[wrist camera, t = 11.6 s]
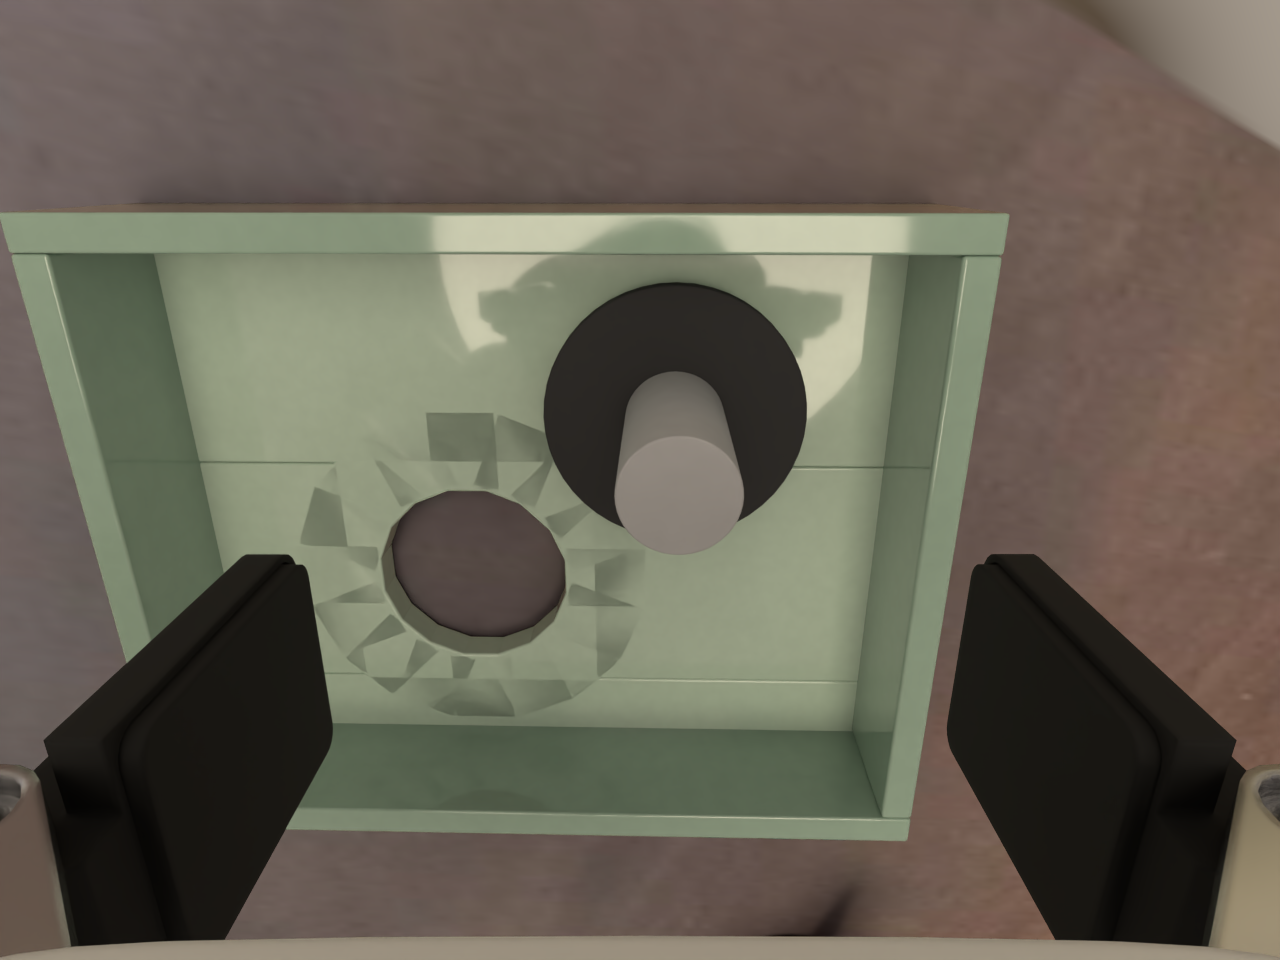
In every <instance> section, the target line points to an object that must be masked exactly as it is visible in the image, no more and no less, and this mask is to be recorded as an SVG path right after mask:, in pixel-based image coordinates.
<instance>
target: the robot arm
mask: <svg viewBox="0 0 1280 960" xmlns="http://www.w3.org/2000/svg"><path fill="white" fill-rule="evenodd" d="M332 736H333V722H332V716H331V709H330V703H329V697H328V691H327V685H326V679H325V673H324V667H323V660H322V654H321V648H320V642H319V636H318V630H317V624H316V618H315V611H314V605H313V599H312V593H311V587H310V581H309V575H308V571H307V569H306V567H305V566H304V565H302V564H296V563H295V561H294V560H293V558H292V557H291V556H290V555H289V554H246V555H244V556H242V557H241V558H240V559H239V560H238V561H237V562H236V563H234V564H233V565H232V566H231V567H230V568H229V569H228V570H227V571H226V572H225V573H224V574H223V575H221V576H220V577H219V578H218V579H217V580H216V581H215V582H214V583H213V584H212V585H211V586H210V587H209V588H207V589H206V590H205V591H204V592H203V593H202V594H201V595H200V596H199V597H198V598H197V599H196V600H194V601H193V602H192V603H191V604H190V605H189V606H188V607H187V608H186V609H185V610H184V611H183V612H182V613H180V614H179V615H178V616H177V617H176V618H175V619H174V620H173V621H172V622H171V623H170V624H169V625H168V626H166V627H165V628H164V629H163V630H162V631H161V632H160V633H159V634H158V635H157V636H156V637H155V638H153V639H152V640H151V641H150V642H149V643H148V644H147V645H146V646H145V647H144V648H143V649H142V650H141V651H139V652H138V653H137V654H136V655H135V656H134V657H133V658H132V659H131V660H130V661H129V662H128V663H126V664H125V665H124V666H123V667H122V668H121V669H120V670H119V671H118V672H117V673H116V674H115V675H114V676H112V677H111V678H110V679H109V680H108V681H107V682H106V683H105V684H104V685H103V686H102V687H101V688H99V689H98V690H97V691H96V692H95V693H94V694H93V695H92V696H91V697H90V698H89V699H88V700H87V701H85V702H84V703H83V704H82V705H81V706H80V707H79V708H78V709H77V710H76V711H75V712H74V713H73V714H71V715H70V716H69V717H68V718H67V719H66V720H65V721H64V722H63V723H62V724H61V725H60V726H58V727H57V728H56V729H55V730H54V731H53V732H52V733H51V734H50V735H49V736H48V737H47V738H46V739H44V743H45V747H46V750H47V753H48V757H47V758H46V759H45V760H44V761H43V762H42V763H41V764H40V765H39V766H38V767H37V768H36V769H35V770H34V771H33V770H30V769H28V768H25V767H23V766H21V765H7V764H0V960H1280V764H1273V765H1259V766H1257V767H1255V768H1252V769H1250V770H1247V771H1246V770H1245V769H1244V768H1243V767H1242V766H1241V765H1240V764H1239V763H1238V762H1237V761H1236V760H1235V759H1234V758H1233V757H1232V753H1233V750H1234V747H1235V743H1236V739H1234V738H1233V737H1232V736H1231V735H1230V734H1229V733H1228V732H1227V731H1226V730H1225V729H1224V728H1223V727H1222V726H1220V725H1219V724H1218V723H1217V722H1216V721H1215V720H1214V719H1213V718H1212V717H1211V716H1210V715H1209V714H1207V713H1206V712H1205V711H1204V710H1203V709H1202V708H1201V707H1200V706H1199V705H1198V704H1197V703H1196V702H1195V701H1193V700H1192V699H1191V698H1190V697H1189V696H1188V695H1187V694H1186V693H1185V692H1184V691H1183V690H1182V689H1181V688H1179V687H1178V686H1177V685H1176V684H1175V683H1174V682H1173V681H1172V680H1171V679H1170V678H1169V677H1168V676H1166V675H1165V674H1164V673H1163V672H1162V671H1161V670H1160V669H1159V668H1158V667H1157V666H1156V665H1155V664H1154V663H1152V662H1151V661H1150V660H1149V659H1148V658H1147V657H1146V656H1145V655H1144V654H1143V653H1142V652H1141V651H1139V650H1138V649H1137V648H1136V647H1135V646H1134V645H1133V644H1132V643H1131V642H1130V641H1129V640H1128V639H1127V638H1125V637H1124V636H1123V635H1122V634H1121V633H1120V632H1119V631H1118V630H1117V629H1116V628H1115V627H1114V626H1112V625H1111V624H1110V623H1109V622H1108V621H1107V620H1106V619H1105V618H1104V617H1103V616H1102V615H1101V614H1100V613H1098V612H1097V611H1096V610H1095V609H1094V608H1093V607H1092V606H1091V605H1090V604H1089V603H1088V602H1087V601H1086V600H1084V599H1083V598H1082V597H1081V596H1080V595H1079V594H1078V593H1077V592H1076V591H1075V590H1074V589H1073V588H1071V587H1070V586H1069V585H1068V584H1067V583H1066V582H1065V581H1064V580H1063V579H1062V578H1061V577H1060V576H1059V575H1057V574H1056V573H1055V572H1054V571H1053V570H1052V569H1051V568H1050V567H1049V566H1048V565H1047V564H1046V563H1044V562H1043V561H1042V560H1041V559H1040V558H1039V557H1038V556H1036V555H1034V554H991V555H990V556H989V557H988V558H987V560H986V561H985V563H984V564H978V565H976V566H975V567H974V569H973V571H972V575H971V581H970V587H969V593H968V599H967V605H966V611H965V618H964V624H963V630H962V636H961V642H960V648H959V654H958V660H957V667H956V673H955V679H954V685H953V691H952V697H951V703H950V709H949V716H948V722H947V736H948V742H949V746H950V749H951V751H952V753H953V755H954V757H955V759H956V761H957V762H958V764H959V766H960V768H961V770H962V771H963V773H964V775H965V777H966V779H967V781H968V782H969V784H970V786H971V788H972V790H973V791H974V793H975V795H976V797H977V799H978V800H979V802H980V804H981V806H982V808H983V809H984V811H985V813H986V815H987V817H988V819H989V820H990V822H991V824H992V826H993V828H994V829H995V831H996V833H997V835H998V837H999V838H1000V840H1001V842H1002V844H1003V846H1004V847H1005V849H1006V851H1007V853H1008V855H1009V857H1010V858H1011V860H1012V862H1013V864H1014V866H1015V867H1016V869H1017V871H1018V873H1019V875H1020V876H1021V878H1022V880H1023V882H1024V884H1025V885H1026V887H1027V889H1028V891H1029V893H1030V895H1031V896H1032V898H1033V900H1034V902H1035V904H1036V905H1037V907H1038V909H1039V911H1040V913H1041V914H1042V916H1043V918H1044V920H1045V922H1046V923H1047V925H1048V927H1049V929H1050V931H1051V933H1052V934H1053V936H1054V938H1055V940H1028V939H977V938H927V937H772V936H508V937H353V938H303V939H252V940H225V938H226V936H227V934H228V933H229V931H230V929H231V927H232V925H233V923H234V922H235V920H236V918H237V916H238V914H239V913H240V911H241V909H242V907H243V905H244V904H245V902H246V900H247V898H248V896H249V895H250V893H251V891H252V889H253V887H254V885H255V884H256V882H257V880H258V878H259V876H260V875H261V873H262V871H263V869H264V867H265V866H266V864H267V862H268V860H269V858H270V857H271V855H272V853H273V851H274V849H275V847H276V846H277V844H278V842H279V840H280V838H281V837H282V835H283V833H284V831H285V829H286V828H287V826H288V824H289V822H290V820H291V819H292V817H293V815H294V813H295V811H296V809H297V808H298V806H299V804H300V802H301V800H302V799H303V797H304V795H305V793H306V791H307V790H308V788H309V786H310V784H311V782H312V781H313V779H314V777H315V775H316V773H317V771H318V770H319V768H320V766H321V764H322V762H323V761H324V759H325V757H326V755H327V753H328V751H329V749H330V746H331V742H332Z"/></svg>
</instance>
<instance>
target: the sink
mask: <svg viewBox="0 0 1280 960" xmlns="http://www.w3.org/2000/svg"><path fill="white" fill-rule="evenodd" d="M686 204H756V203H686ZM0 222H1V225H2V229H3V232H4V236H5V239H6V243H7V246H8V250H9V252H11V253H15V254H13V255H12V257H11V258H12V262H13V265H14V269H15V272H16V276H17V280H18V283H19V287H20V290H21V294H22V297H23V301H24V304H25V308H26V311H27V315H28V318H29V322H30V325H31V329H32V332H33V336H34V339H35V343H36V346H37V350H38V353H39V357H40V360H41V364H42V368H43V371H44V375H45V378H46V382H47V385H48V389H49V392H50V396H51V399H52V403H53V406H54V410H55V413H56V417H57V420H58V424H59V427H60V431H61V434H62V438H63V441H64V445H65V448H66V452H67V456H68V459H69V463H70V466H71V470H72V473H73V477H74V480H75V484H76V487H77V491H78V494H79V498H80V501H81V505H82V508H83V512H84V515H85V519H86V522H87V526H88V529H89V533H90V536H91V540H92V544H93V547H94V551H95V554H96V558H97V561H98V565H99V568H100V572H101V575H102V579H103V582H104V586H105V589H106V593H107V596H108V600H109V603H110V607H111V610H112V614H113V617H114V621H115V624H116V628H117V632H118V635H119V639H120V642H121V646H122V649H123V653H124V656H125V660H126V663H128V662H129V661H130V660H131V659H132V658H133V657H134V656H135V655H136V654H137V653H138V652H139V651H141V650H142V649H143V648H144V647H145V646H146V645H147V644H148V643H149V642H150V641H151V640H152V639H153V638H155V637H156V636H157V635H158V634H159V633H160V632H161V631H162V630H163V629H164V628H165V627H166V626H168V625H169V624H170V623H171V622H172V621H173V620H174V619H175V618H176V617H177V616H178V615H179V614H180V613H182V612H183V611H184V610H185V609H186V608H187V607H188V606H189V605H190V604H191V603H192V602H193V601H194V600H196V599H197V598H198V597H199V596H200V595H201V594H202V593H203V592H204V591H205V590H206V589H207V588H209V587H210V586H211V585H212V584H213V583H214V582H215V581H216V580H217V579H218V578H219V577H220V576H221V575H223V574H224V571H223V567H222V562H221V558H220V553H219V549H218V544H217V540H216V535H215V530H214V526H213V521H212V517H211V512H210V508H209V503H208V499H207V494H206V489H205V485H204V480H203V476H202V471H201V467H200V463H201V461H199V457H198V453H197V448H196V444H195V439H194V435H193V430H192V426H191V421H190V416H189V412H188V407H187V403H186V398H185V394H184V389H183V385H182V380H181V375H180V371H179V366H178V362H177V357H176V353H175V348H174V344H173V339H172V334H171V330H170V325H169V321H168V316H167V312H166V307H165V302H164V298H163V293H162V289H161V284H160V280H159V275H158V271H157V266H156V261H155V257H154V254H479V255H909V261H908V269H907V277H906V285H905V294H904V302H903V310H902V318H901V327H900V335H899V343H898V352H897V360H896V368H895V376H894V385H893V393H892V401H891V409H890V418H889V426H888V434H887V442H886V451H885V459H884V466H883V475H882V484H881V492H880V500H879V508H878V517H877V525H876V533H875V541H874V550H873V558H872V566H871V574H870V583H869V591H868V599H867V607H866V616H865V624H864V632H863V640H862V649H861V657H860V665H859V673H858V681H857V690H856V698H855V707H854V715H853V723H852V731H805V730H741V729H677V728H613V727H549V726H485V725H420V724H356V723H333V736H332V742H331V746H330V749H329V751H328V753H327V755H326V757H325V759H324V761H323V762H322V764H321V766H320V768H319V770H318V771H317V773H316V775H315V777H314V779H313V781H312V782H311V784H310V786H309V788H308V790H307V791H306V793H305V795H304V797H303V799H302V800H301V802H300V804H299V806H298V808H297V809H296V811H295V813H294V815H293V817H292V819H291V820H290V822H289V824H288V826H287V828H286V829H285V830H330V831H383V832H437V833H491V834H544V835H598V836H651V837H705V838H758V839H812V840H865V841H907V838H908V832H909V826H910V817H911V812H912V806H913V800H914V794H915V788H916V782H917V775H918V769H919V763H920V757H921V751H922V745H923V739H924V733H925V726H926V720H927V714H928V708H929V702H930V696H931V690H932V684H933V677H934V671H935V665H936V659H937V653H938V647H939V641H940V635H941V628H942V622H943V616H944V610H945V604H946V598H947V592H948V585H949V579H950V573H951V567H952V561H953V555H954V549H955V543H956V536H957V530H958V524H959V518H960V512H961V506H962V500H963V494H964V487H965V481H966V475H967V469H968V463H969V457H970V451H971V445H972V438H973V432H974V426H975V420H976V414H977V408H978V402H979V395H980V389H981V383H982V377H983V371H984V365H985V359H986V353H987V346H988V340H989V334H990V328H991V322H992V316H993V310H994V304H995V297H996V291H997V285H998V279H999V273H1000V267H1001V261H1002V260H1001V257H1000V255H1002V254H1003V252H1004V246H1005V240H1006V234H1007V228H1008V222H1009V214H1008V213H1003V212H995V211H987V210H979V209H972V208H964V207H956V206H948V205H941V204H939V205H346V204H345V205H340V204H339V205H338V204H336V205H331V204H329V205H328V204H327V205H325V204H320V205H319V204H298V205H297V204H131V203H130V204H115V205H100V206H85V207H70V208H55V209H40V210H25V211H10V212H1V213H0Z"/></svg>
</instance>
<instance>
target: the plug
mask: <svg viewBox="0 0 1280 960" xmlns="http://www.w3.org/2000/svg"><path fill="white" fill-rule="evenodd" d="M543 418H544V427H545V435H546V439H547V443H548V447H549V450H550V453H551V455H552V458H553V460H554V463H555V465H556V467H557V469H558V470H559V472H560V474H561V476H562V478H563V479H564V480H565V482H566V483H567V484H568V486H569V487H570V489H571V490H572V491H573V492H574V493H575V494H576V495H577V496H578V497H579V499H580V500H581V501H582V502H583V503H584V504H586V505H587V506H588V507H589V508H591V509H592V510H593V511H594V512H596V513H597V514H599V515H600V516H602V517H603V518H605V519H607V520H608V521H610V522H612V523H614V524H616V525H619V526H621V527H623V528H625V529H626V530H627V531H628V532H629V534H630V535H631V536H632V537H633V538H635V539H636V540H637V541H638V542H640V543H641V544H643V545H644V546H646V547H648V548H650V549H652V550H655V551H658V552H661V553H665V554H672V555H686V554H692V553H697V552H700V551H703V550H705V549H708V548H710V547H712V546H713V545H715V544H717V543H718V542H719V541H721V540H722V539H723V538H724V537H725V536H726V535H727V534H728V533H729V532H730V531H731V530H732V529H733V527H734V526H735V524H736V522H738V521H740V520H742V519H743V518H745V517H747V516H749V515H750V514H751V513H753V512H754V511H755V510H757V509H758V508H759V507H761V506H762V505H763V504H764V503H765V502H766V501H767V500H768V499H769V498H770V497H771V496H772V495H774V493H775V492H776V491H777V490H778V488H779V487H780V486H781V485H782V483H783V482H784V481H785V479H786V478H787V476H788V474H789V473H790V471H791V470H792V468H793V466H794V464H795V461H796V459H797V457H798V455H799V452H800V449H801V446H802V442H803V439H804V435H805V428H806V422H807V399H806V391H805V385H804V381H803V378H802V374H801V370H800V368H799V365H798V363H797V361H796V358H795V356H794V354H793V352H792V351H791V349H790V347H789V346H788V344H787V342H786V341H785V339H784V338H783V336H782V335H781V334H780V333H779V331H778V330H777V329H776V328H775V326H774V325H773V324H772V323H771V322H770V321H769V320H768V319H767V318H766V317H765V316H764V315H763V314H762V313H760V312H759V311H758V310H757V309H755V308H754V307H752V306H751V305H750V304H748V303H747V302H745V301H744V300H742V299H740V298H738V297H736V296H734V295H732V294H730V293H728V292H725V291H722V290H719V289H716V288H714V287H710V286H705V285H700V284H695V283H683V282H670V283H657V284H652V285H647V286H642V287H639V288H636V289H633V290H630V291H627V292H624V293H622V294H620V295H618V296H616V297H614V298H612V299H610V300H608V301H607V302H605V303H604V304H602V305H601V306H599V307H598V308H596V309H595V310H594V311H593V312H591V313H590V314H589V315H588V316H587V317H586V318H585V319H584V320H582V321H581V322H580V324H579V325H578V326H577V327H576V328H575V329H574V331H573V332H572V333H571V334H570V335H569V337H568V339H567V340H566V342H565V343H564V345H563V346H562V348H561V349H560V351H559V353H558V355H557V357H556V360H555V362H554V364H553V366H552V368H551V371H550V375H549V378H548V381H547V385H546V391H545V397H544V415H543Z"/></svg>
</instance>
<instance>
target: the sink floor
mask: <svg viewBox="0 0 1280 960" xmlns="http://www.w3.org/2000/svg"><path fill="white" fill-rule="evenodd" d="M131 204H297V205H298V204H319V205H320V204H325V205H327V204H328V205H329V204H331V205H336V204H338V205H339V204H340V205H345V204H346V205H939V204H686V203H131ZM154 257H155V261H156V266H157V271H158V275H159V280H160V284H161V289H162V293H163V298H164V302H165V307H166V312H167V316H168V321H169V325H170V330H171V334H172V339H173V344H174V348H175V353H176V357H177V362H178V366H179V371H180V375H181V380H182V385H183V389H184V394H185V398H186V403H187V407H188V412H189V416H190V421H191V426H192V430H193V435H194V439H195V444H196V448H197V453H198V457H199V461H201V463H200V467H201V471H202V476H203V480H204V485H205V489H206V494H207V499H208V503H209V508H210V512H211V517H212V521H213V526H214V530H215V535H216V540H217V544H218V549H219V553H220V558H221V562H222V567H223V571H224V573H225V572H226V571H227V570H228V569H229V568H230V567H231V566H232V565H233V564H234V563H236V562H237V561H238V560H239V559H240V558H241V557H242V556H244V555H246V554H289V555H290V556H291V557H292V558H293V560H294V561H295V563H296V564H302V565H304V566H305V567H306V569H307V571H308V575H309V581H310V587H311V593H312V599H313V605H314V611H315V618H316V624H317V630H318V636H319V642H320V648H321V654H322V660H323V667H324V673H325V679H326V685H327V691H328V697H329V703H330V709H331V716H332V722H333V723H356V724H420V725H485V726H549V727H613V728H677V729H741V730H805V731H852V723H853V715H854V707H855V698H856V690H857V681H858V673H859V665H860V657H861V649H862V640H863V632H864V624H865V616H866V607H867V599H868V591H869V583H870V574H871V566H872V558H873V550H874V541H875V533H876V525H877V517H878V508H879V500H880V492H881V484H882V475H883V466H884V459H885V451H886V442H887V434H888V426H889V418H890V409H891V401H892V393H893V385H894V376H895V368H896V360H897V352H898V343H899V335H900V327H901V318H902V310H903V302H904V294H905V285H906V277H907V269H908V261H909V255H479V254H154ZM670 282H683V283H695V284H700V285H705V286H710V287H714V288H716V289H719V290H722V291H725V292H728V293H730V294H732V295H734V296H736V297H738V298H740V299H742V300H744V301H745V302H747V303H748V304H750V305H751V306H752V307H754V308H755V309H757V310H758V311H759V312H760V313H762V314H763V315H764V316H765V317H766V318H767V319H768V320H769V321H770V322H771V323H772V324H773V325H774V326H775V328H776V329H777V330H778V331H779V333H780V334H781V335H782V336H783V338H784V339H785V341H786V342H787V344H788V346H789V347H790V349H791V351H792V352H793V354H794V356H795V358H796V361H797V363H798V365H799V368H800V370H801V374H802V378H803V381H804V385H805V391H806V399H807V422H806V428H805V435H804V439H803V442H802V446H801V449H800V452H799V455H798V457H797V459H796V461H795V464H794V466H793V468H792V470H791V471H790V473H789V474H788V476H787V478H786V479H785V481H784V482H783V483H782V485H781V486H780V487H779V488H778V490H777V491H776V492H775V493H774V495H772V496H771V497H770V498H769V499H768V500H767V501H766V502H765V503H764V504H763V505H762V506H761V507H759V508H758V509H757V510H755V511H754V512H753V513H751V514H750V515H749V516H747V517H745V518H743V519H742V520H740V521H738V522H736V524H735V526H734V527H733V529H732V530H731V531H730V532H729V533H728V534H727V535H726V536H725V537H724V538H723V539H722V540H721V541H719V542H718V543H717V544H715V545H713V546H712V547H710V548H708V549H705V550H703V551H700V552H697V553H692V554H686V555H672V554H665V553H661V552H658V551H655V550H652V549H650V548H648V547H646V546H644V545H643V544H641V543H640V542H638V541H637V540H636V539H635V538H633V537H632V536H631V535H630V534H629V532H628V531H627V530H626V529H625V528H623V527H621V526H619V525H616V524H614V523H612V522H610V521H608V520H607V519H605V518H603V517H602V516H600V515H599V514H597V513H596V512H594V511H593V510H592V509H591V508H589V507H588V506H587V505H586V504H584V503H583V502H582V501H581V500H580V499H579V497H578V496H577V495H576V494H575V493H574V492H573V491H572V490H571V489H570V487H569V486H568V484H567V483H566V482H565V480H564V479H563V478H562V476H561V474H560V472H559V470H558V469H557V467H556V465H555V463H554V460H553V458H552V455H551V453H550V450H549V447H548V443H547V439H546V435H545V427H544V418H543V415H544V397H545V391H546V385H547V381H548V378H549V375H550V371H551V368H552V366H553V364H554V362H555V360H556V357H557V355H558V353H559V351H560V349H561V348H562V346H563V345H564V343H565V342H566V340H567V339H568V337H569V335H570V334H571V333H572V332H573V331H574V329H575V328H576V327H577V326H578V325H579V324H580V322H581V321H582V320H584V319H585V318H586V317H587V316H588V315H589V314H590V313H591V312H593V311H594V310H595V309H596V308H598V307H599V306H601V305H602V304H604V303H605V302H607V301H608V300H610V299H612V298H614V297H616V296H618V295H620V294H622V293H624V292H627V291H630V290H633V289H636V288H639V287H642V286H647V285H652V284H657V283H670ZM447 491H487V492H490V493H492V494H495V495H497V496H500V497H503V498H505V499H508V500H510V501H513V502H516V503H518V504H520V505H522V506H523V507H524V508H525V509H526V510H527V511H528V512H530V513H531V514H532V515H533V516H534V517H535V518H536V519H537V520H539V521H540V522H541V523H542V524H543V525H544V526H545V527H547V528H548V529H549V530H550V532H551V534H552V536H553V538H554V540H555V542H556V544H557V546H558V548H559V550H560V552H561V554H562V556H563V558H564V560H565V584H566V586H565V588H564V591H563V593H562V595H561V598H560V600H559V602H558V605H557V606H556V607H555V608H554V609H553V610H552V611H551V612H550V613H548V614H547V615H546V616H545V617H544V618H543V619H542V620H541V621H539V622H538V623H537V624H536V625H535V626H533V627H531V628H528V629H525V630H522V631H519V632H516V633H514V634H511V635H508V636H505V637H472V636H468V635H466V634H463V633H460V632H457V631H455V630H452V629H449V628H446V627H443V626H441V625H438V624H437V623H436V622H434V621H433V620H432V619H431V618H429V617H428V616H427V615H426V614H424V613H423V612H422V611H421V610H419V609H418V608H417V607H416V606H414V605H413V604H412V603H411V601H410V600H409V598H408V596H407V595H406V593H405V591H404V590H403V588H402V586H401V584H400V583H399V581H398V579H397V578H396V576H395V568H394V560H393V553H392V542H393V539H394V536H395V533H396V530H397V527H398V524H399V521H400V519H401V518H402V517H403V516H404V515H405V514H406V513H407V512H408V511H409V510H410V509H411V508H412V507H413V506H414V504H416V503H418V502H421V501H424V500H426V499H429V498H431V497H434V496H436V495H439V494H441V493H444V492H447Z"/></svg>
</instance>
